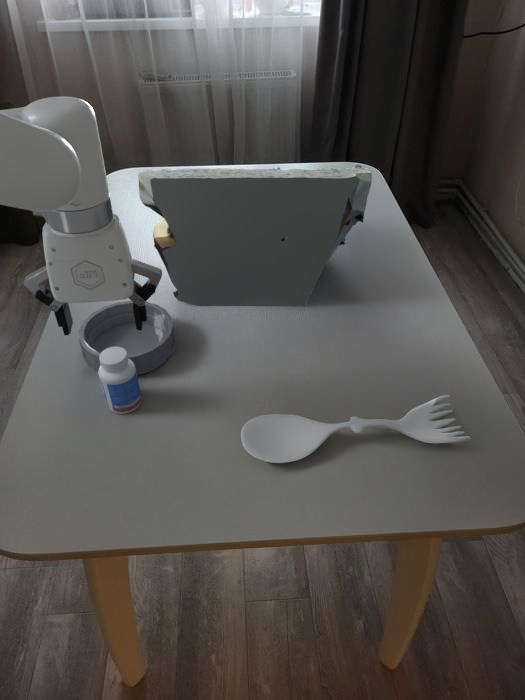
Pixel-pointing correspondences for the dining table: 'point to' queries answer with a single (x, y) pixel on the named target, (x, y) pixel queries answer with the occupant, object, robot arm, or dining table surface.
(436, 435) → the spoon
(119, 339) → the pan
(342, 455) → the dining table surface
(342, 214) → the basket
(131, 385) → the pill bottle
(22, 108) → the robot arm
